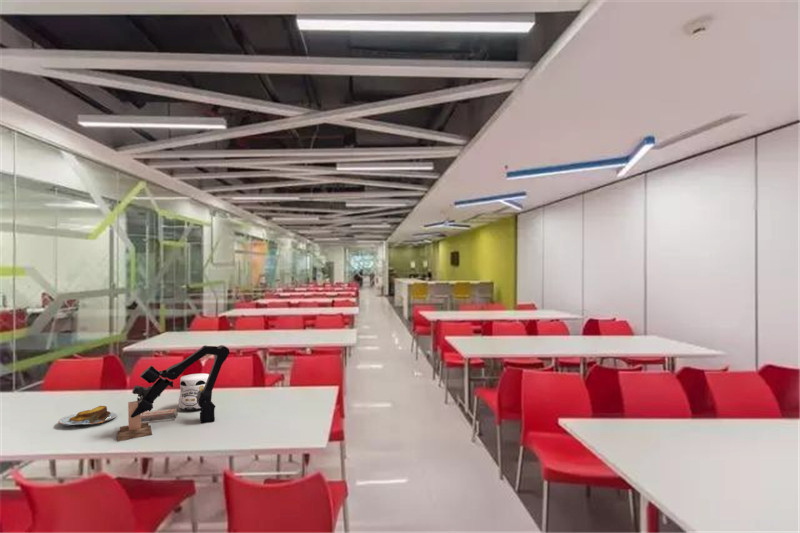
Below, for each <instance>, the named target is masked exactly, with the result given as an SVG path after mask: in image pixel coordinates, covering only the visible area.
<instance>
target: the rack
mask: <svg viewBox="0 0 800 533" xmlns="http://www.w3.org/2000/svg"><path fill="white" fill-rule="evenodd" d="M152 435H153V431H152V426H151V425H150V424H149V423H148V422H145V423H141V429H136V430H130V431H129V424H128V425H122V426H119V430H117V432H116V441H117V442H120V441H127V440H131V439H139V438H143V437H149V436H152Z"/></svg>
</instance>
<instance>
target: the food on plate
mask: <svg viewBox="0 0 800 533" xmlns="http://www.w3.org/2000/svg"><path fill="white" fill-rule="evenodd" d="M110 416H111V418H110V419H109V418H107V417H110ZM117 416H118V414H117V412H113V411H108V407H107V406H106V405H98V406H95V407H94V408H92V409H88V410H82V411H79V412H78V413H75V414H70V415H67V416H64V417H62V418H60V419H59V420H58V421H57V423H58V424H62V425H63V426H75V425H96V424H101V423H102V424H103V423H105V422H106V421H110V420H112V419H114V418H117ZM106 418H107V419H106ZM105 419H106V420H105ZM104 420H105V421H104Z"/></svg>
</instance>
